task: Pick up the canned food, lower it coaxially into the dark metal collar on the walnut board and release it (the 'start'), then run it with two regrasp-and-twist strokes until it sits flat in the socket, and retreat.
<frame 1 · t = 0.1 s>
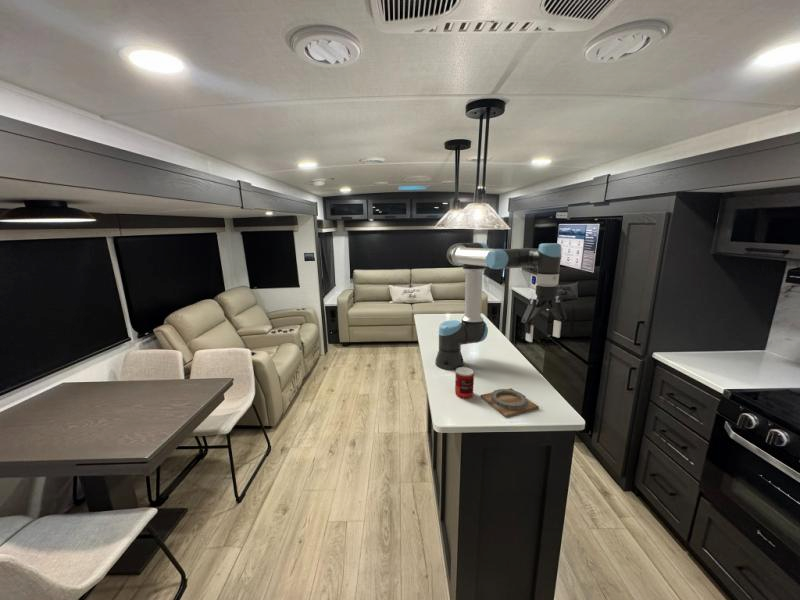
hand: (542, 339, 117), 28 cm above the kitchen island, fingers open, 13 cm apart
socket board: (508, 403, 124), on the kitchen island
canned food: (464, 394, 131), on the kitchen island
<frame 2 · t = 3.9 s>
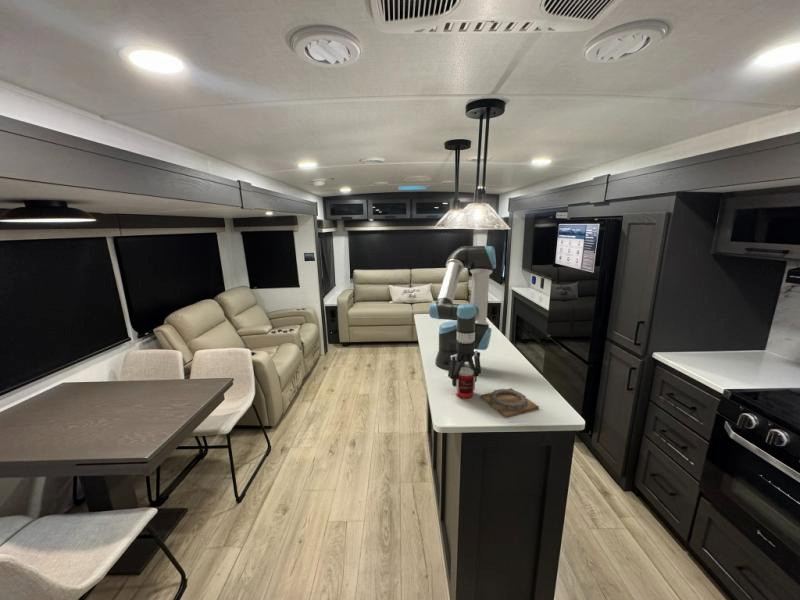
hand: (464, 390, 131), 2 cm above the kitchen island, fingers closed on canned food, 8 cm apart
canned food: (464, 394, 131), on the kitchen island, touching gripper
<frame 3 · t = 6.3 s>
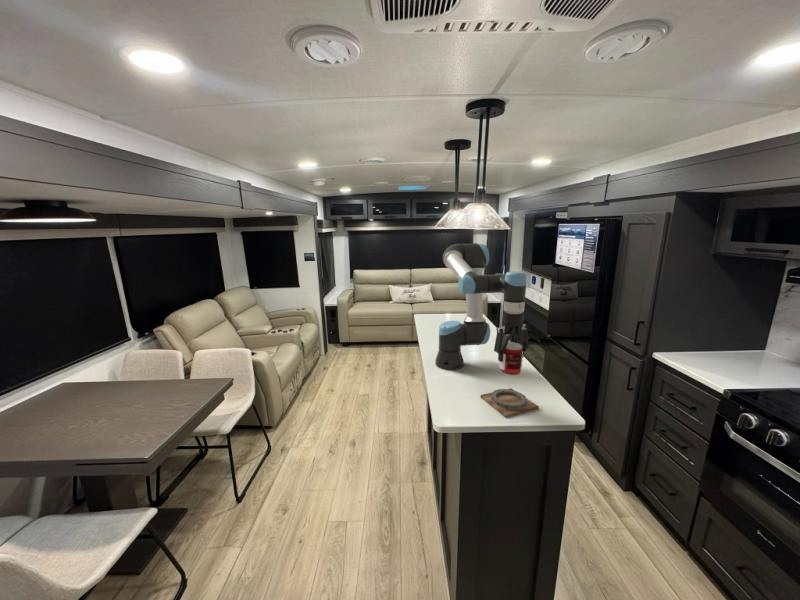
hand: (510, 366, 121), 16 cm above the kitchen island, fingers closed on canned food, 8 cm apart
canned food: (510, 371, 121), point 14 cm above the kitchen island, touching gripper
when the fingers open (5 cm above the kitchen island, at t = 9.2 s): canned food drops 2 cm, resting on socket board.
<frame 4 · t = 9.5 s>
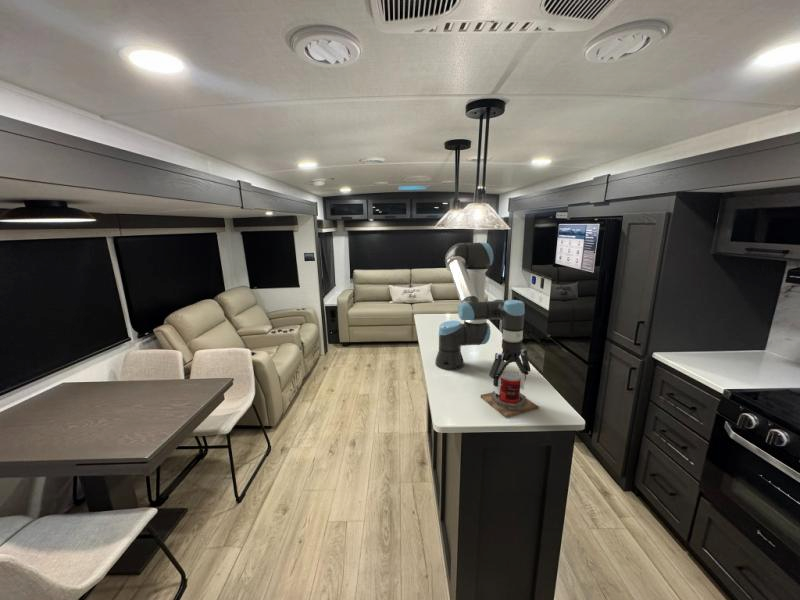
hand: (509, 390, 123), 6 cm above the kitchen island, fingers open, 11 cm apart
canned food: (508, 400, 124), point 1 cm above the kitchen island, touching socket board
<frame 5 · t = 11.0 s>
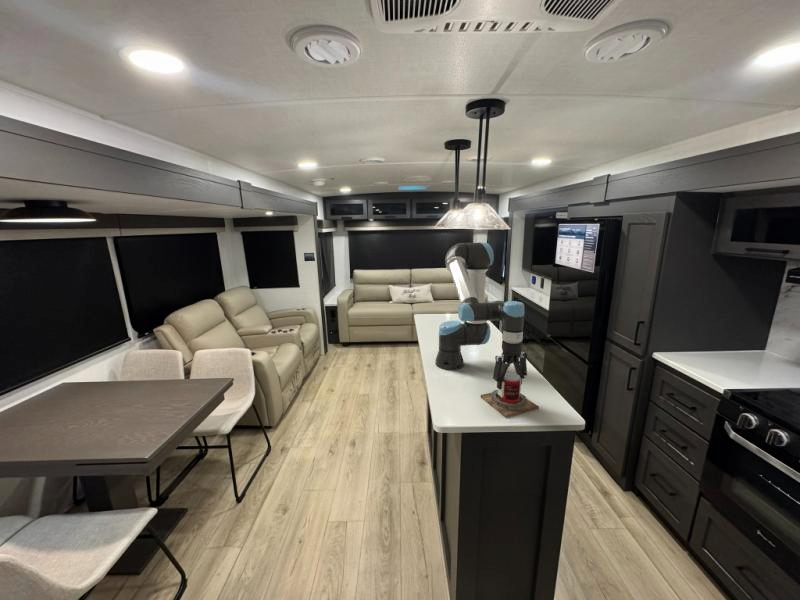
hand: (509, 393, 123), 4 cm above the kitchen island, fingers closed on canned food, 8 cm apart
canned food: (508, 400, 124), point 1 cm above the kitchen island, touching gripper, socket board
when the fingers open (5 cm above the kitchen island, at t = 12.3 s): canned food stays where it is, resting on socket board.
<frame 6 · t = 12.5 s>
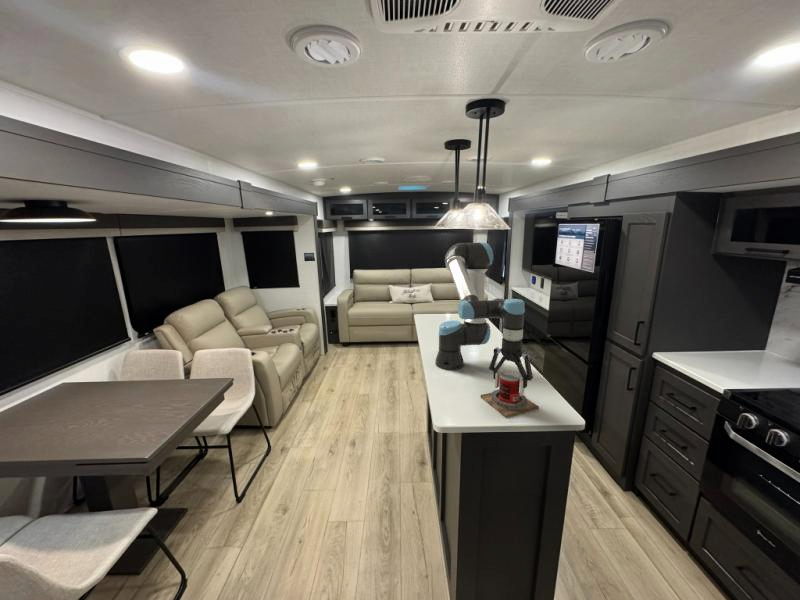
hand: (509, 390, 123), 6 cm above the kitchen island, fingers open, 9 cm apart
canned food: (508, 400, 124), point 1 cm above the kitchen island, touching socket board
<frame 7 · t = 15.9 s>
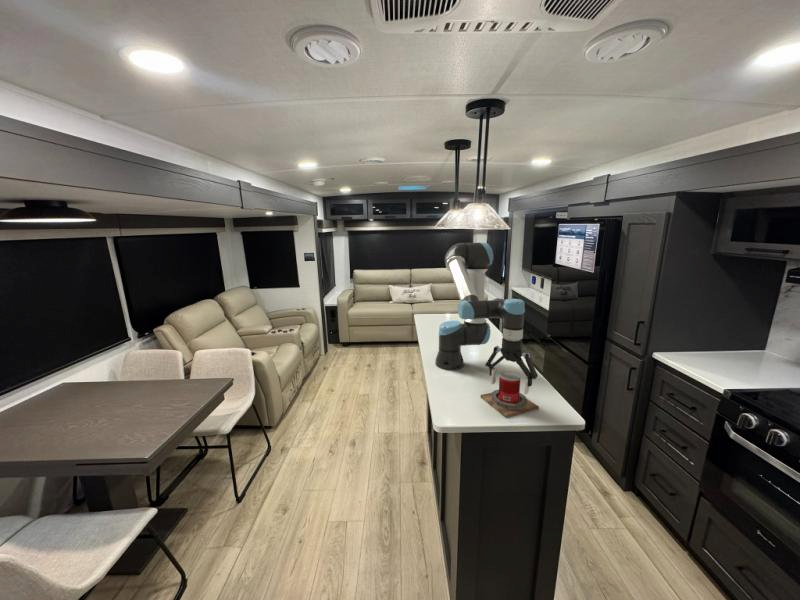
hand: (509, 388, 122), 7 cm above the kitchen island, fingers open, 13 cm apart
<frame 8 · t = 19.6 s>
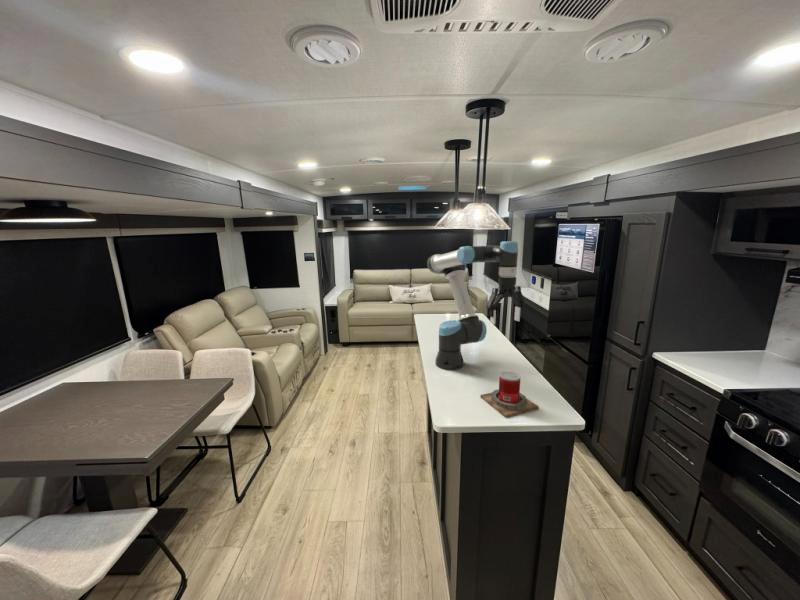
hand: (505, 322, 138), 29 cm above the kitchen island, fingers open, 13 cm apart
at the end: canned food 0.1 cm from the socket board (horizontally); canned food tilted 0°; the gripper is holding nothing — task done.
